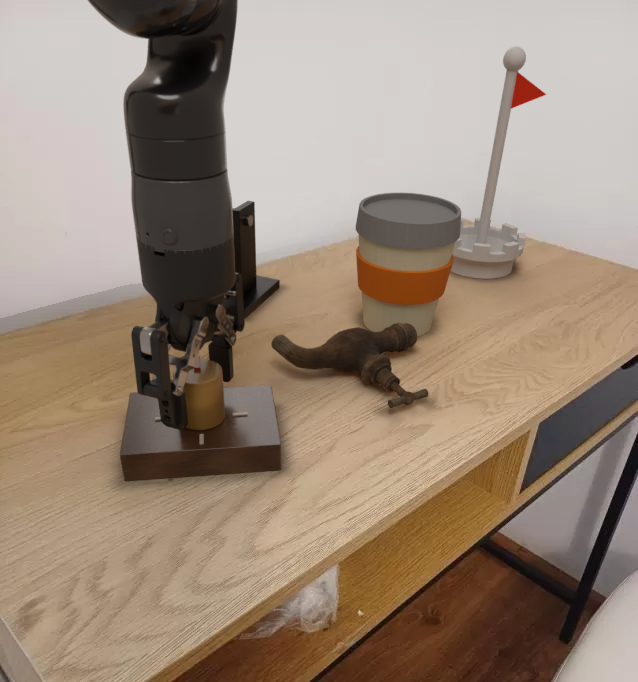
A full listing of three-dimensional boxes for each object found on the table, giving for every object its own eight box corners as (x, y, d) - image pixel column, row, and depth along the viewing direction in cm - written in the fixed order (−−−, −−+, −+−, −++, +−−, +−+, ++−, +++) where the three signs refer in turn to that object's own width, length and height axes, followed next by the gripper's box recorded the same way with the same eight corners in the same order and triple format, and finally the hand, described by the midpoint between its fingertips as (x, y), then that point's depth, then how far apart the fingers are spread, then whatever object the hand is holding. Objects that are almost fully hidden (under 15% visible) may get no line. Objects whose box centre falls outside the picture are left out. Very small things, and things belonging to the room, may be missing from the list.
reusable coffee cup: (411, 296, 91) (425, 188, 83) (464, 334, 82) (485, 217, 74) (333, 310, 87) (338, 197, 78) (379, 352, 78) (391, 230, 69)
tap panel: (124, 481, 57) (119, 453, 55) (134, 417, 65) (129, 390, 63) (281, 470, 59) (281, 443, 57) (271, 409, 67) (271, 383, 65)
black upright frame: (245, 318, 84) (241, 221, 77) (185, 305, 87) (175, 210, 79) (279, 287, 92) (279, 196, 85) (224, 276, 95) (219, 187, 88)
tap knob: (226, 428, 59) (223, 379, 56) (177, 432, 58) (171, 382, 55) (223, 402, 63) (220, 354, 59) (177, 405, 62) (172, 357, 59)
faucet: (383, 332, 82) (463, 399, 73) (269, 361, 73) (344, 441, 64) (391, 299, 79) (476, 365, 70) (273, 325, 70) (352, 404, 61)
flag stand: (420, 267, 100) (450, 45, 83) (456, 244, 109) (489, 39, 92) (499, 288, 95) (549, 54, 77) (530, 262, 103) (580, 47, 86)
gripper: (190, 197, 57) (203, 358, 66) (86, 250, 46) (119, 433, 55) (267, 210, 54) (269, 374, 64) (178, 269, 44) (196, 455, 53)
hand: (200, 401), depth 60 cm, fingers open, 8 cm apart
